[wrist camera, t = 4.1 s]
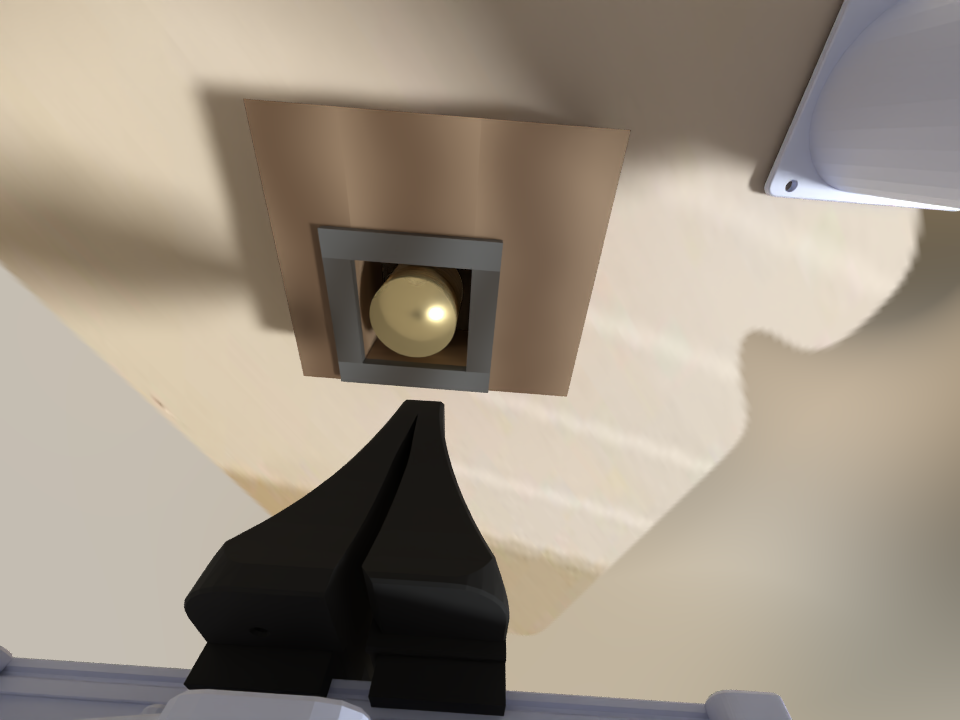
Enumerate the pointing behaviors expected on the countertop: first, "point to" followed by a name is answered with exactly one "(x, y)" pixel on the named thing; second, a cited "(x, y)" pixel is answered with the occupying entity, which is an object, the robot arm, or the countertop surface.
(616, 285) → the countertop surface
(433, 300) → the peg
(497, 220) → the socket block
